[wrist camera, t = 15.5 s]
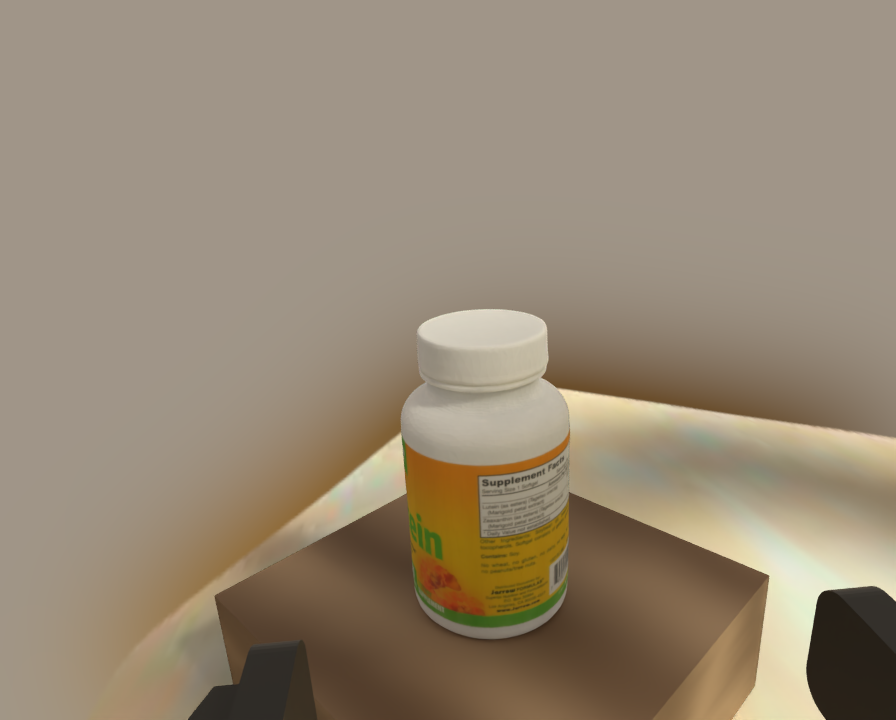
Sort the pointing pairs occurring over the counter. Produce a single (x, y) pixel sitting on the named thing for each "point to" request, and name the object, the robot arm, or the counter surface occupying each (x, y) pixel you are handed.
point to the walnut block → (520, 657)
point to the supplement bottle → (487, 475)
